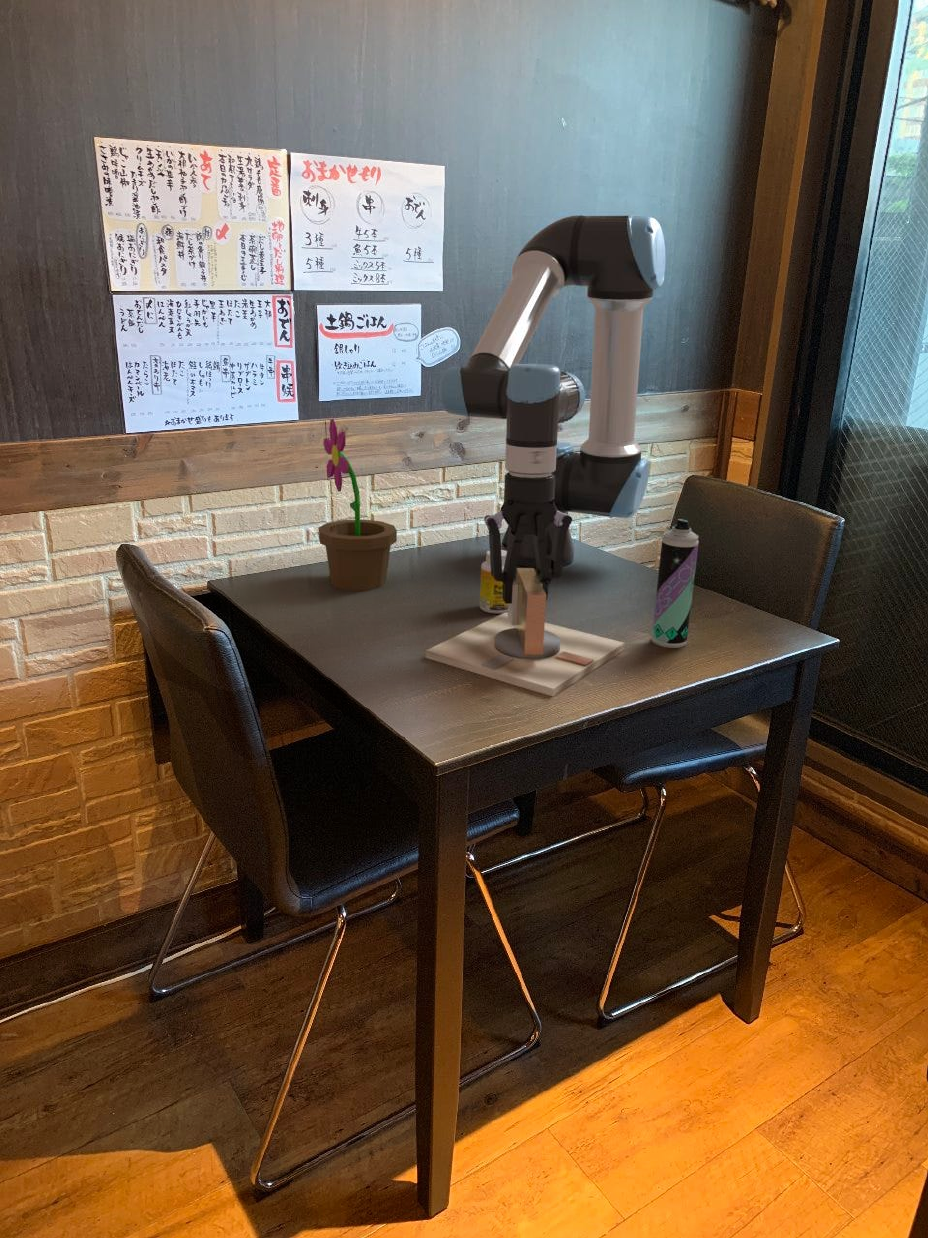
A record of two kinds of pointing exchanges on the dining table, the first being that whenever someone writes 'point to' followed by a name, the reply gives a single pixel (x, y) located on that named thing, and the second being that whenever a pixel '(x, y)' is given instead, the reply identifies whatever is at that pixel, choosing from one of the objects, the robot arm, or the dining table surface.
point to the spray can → (675, 586)
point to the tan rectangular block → (530, 611)
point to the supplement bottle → (492, 588)
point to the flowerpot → (354, 533)
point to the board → (526, 655)
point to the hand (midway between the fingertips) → (523, 621)
